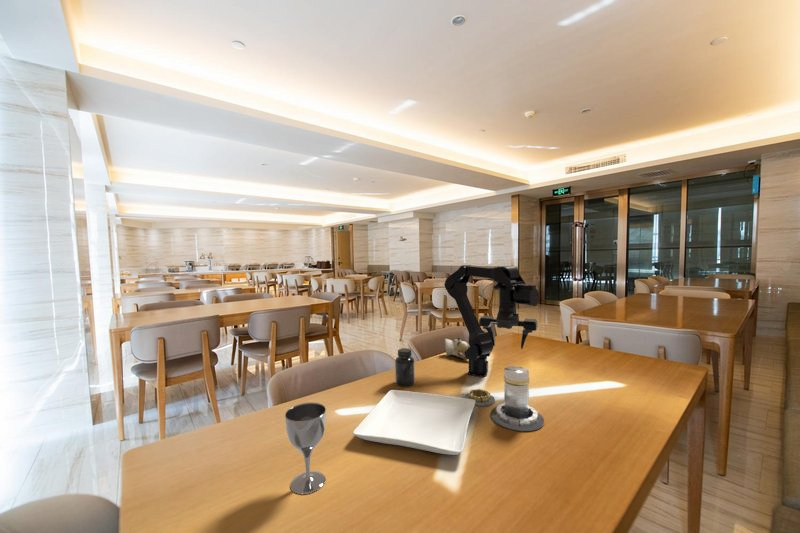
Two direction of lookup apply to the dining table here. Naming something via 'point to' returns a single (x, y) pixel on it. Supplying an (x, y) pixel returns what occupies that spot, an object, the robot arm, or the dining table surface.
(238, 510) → the dining table surface
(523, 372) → the cylinder
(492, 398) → the brass collar
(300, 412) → the wine glass
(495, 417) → the collar
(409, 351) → the supplement bottle
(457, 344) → the ceramic sculpture
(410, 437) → the square plate
